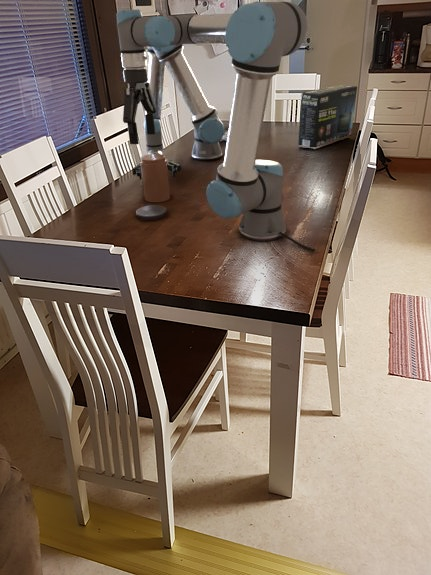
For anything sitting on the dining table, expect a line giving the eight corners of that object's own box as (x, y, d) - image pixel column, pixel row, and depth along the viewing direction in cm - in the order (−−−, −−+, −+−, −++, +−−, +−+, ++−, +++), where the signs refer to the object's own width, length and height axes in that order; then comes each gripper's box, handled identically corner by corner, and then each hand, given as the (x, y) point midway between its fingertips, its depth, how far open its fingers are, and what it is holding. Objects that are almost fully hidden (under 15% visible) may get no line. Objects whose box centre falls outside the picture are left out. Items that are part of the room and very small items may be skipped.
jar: (154, 192, 187) (149, 152, 179) (174, 195, 183) (171, 154, 175) (139, 200, 179) (134, 159, 171) (161, 203, 175) (156, 161, 167)
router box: (314, 151, 231) (318, 94, 217) (296, 148, 237) (299, 92, 224) (352, 138, 251) (358, 85, 238) (335, 135, 258) (340, 83, 245)
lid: (167, 219, 162) (166, 215, 161) (136, 222, 161) (135, 217, 160) (165, 208, 171) (165, 204, 170) (136, 210, 170) (136, 206, 169)
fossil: (241, 138, 244) (222, 120, 247) (230, 154, 251) (212, 137, 254) (257, 136, 258) (239, 120, 261) (247, 152, 264) (229, 136, 267)
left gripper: (184, 167, 207) (188, 182, 189) (128, 171, 204) (127, 186, 186) (183, 150, 203) (187, 163, 185) (126, 154, 200) (124, 168, 182)
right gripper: (128, 73, 130) (137, 148, 141) (161, 63, 150) (167, 130, 161) (104, 73, 132) (115, 148, 143) (140, 64, 152) (147, 130, 163)
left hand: (157, 175), depth 185 cm, fingers open, 13 cm apart
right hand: (143, 139), depth 152 cm, fingers open, 13 cm apart
